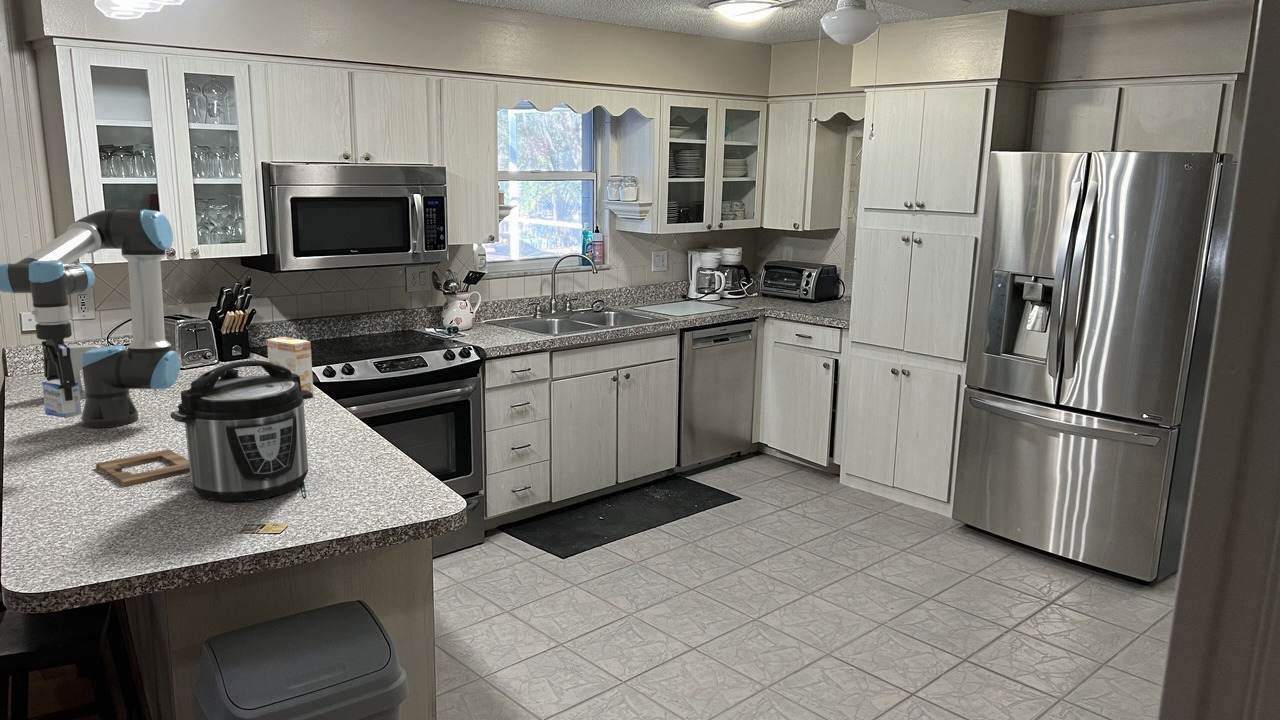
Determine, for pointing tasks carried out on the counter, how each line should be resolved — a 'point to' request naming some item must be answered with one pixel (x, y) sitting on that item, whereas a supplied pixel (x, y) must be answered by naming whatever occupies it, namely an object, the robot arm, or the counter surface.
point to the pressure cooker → (245, 432)
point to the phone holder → (79, 362)
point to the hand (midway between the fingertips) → (63, 408)
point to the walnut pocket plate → (126, 478)
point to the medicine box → (59, 399)
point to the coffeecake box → (293, 358)
